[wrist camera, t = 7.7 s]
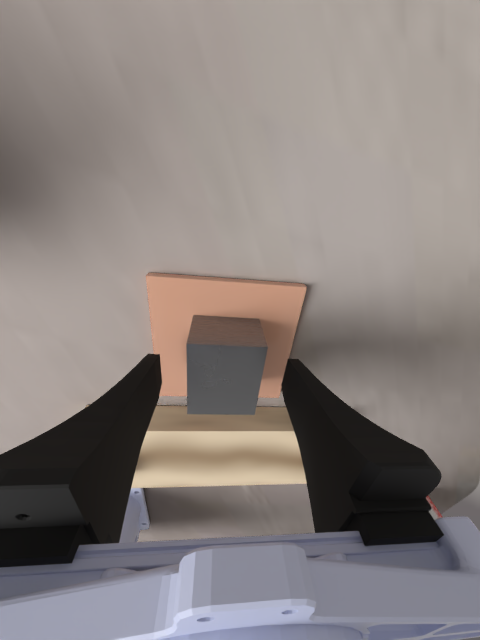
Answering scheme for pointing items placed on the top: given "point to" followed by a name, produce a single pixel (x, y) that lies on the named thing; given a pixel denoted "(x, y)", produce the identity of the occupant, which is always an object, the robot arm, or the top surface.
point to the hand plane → (218, 449)
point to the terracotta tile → (227, 301)
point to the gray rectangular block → (224, 365)
